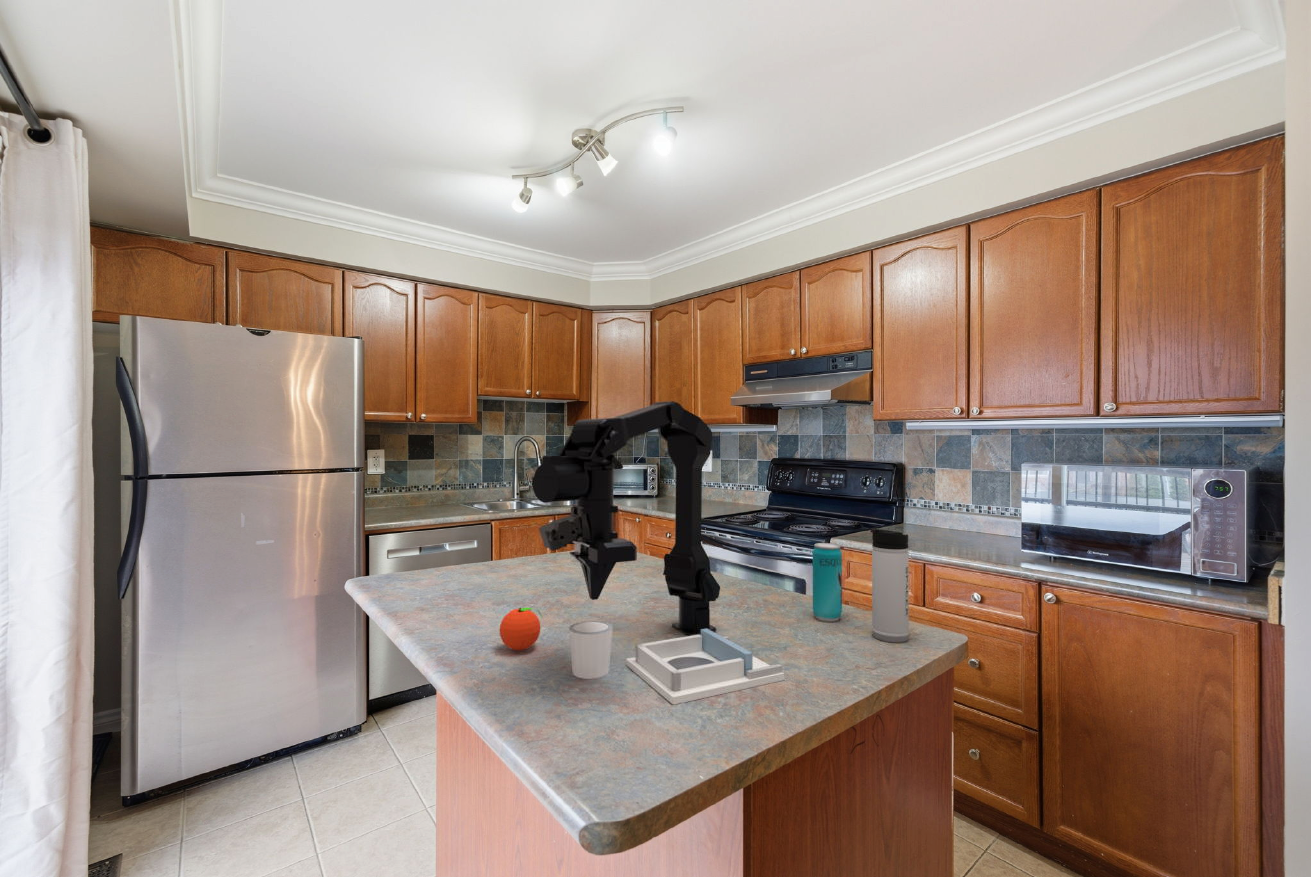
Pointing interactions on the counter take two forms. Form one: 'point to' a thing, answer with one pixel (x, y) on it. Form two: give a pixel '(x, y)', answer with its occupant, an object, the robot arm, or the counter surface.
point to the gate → (725, 649)
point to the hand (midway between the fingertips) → (594, 599)
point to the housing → (695, 670)
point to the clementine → (520, 629)
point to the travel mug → (890, 586)
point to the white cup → (590, 648)
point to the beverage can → (827, 582)
